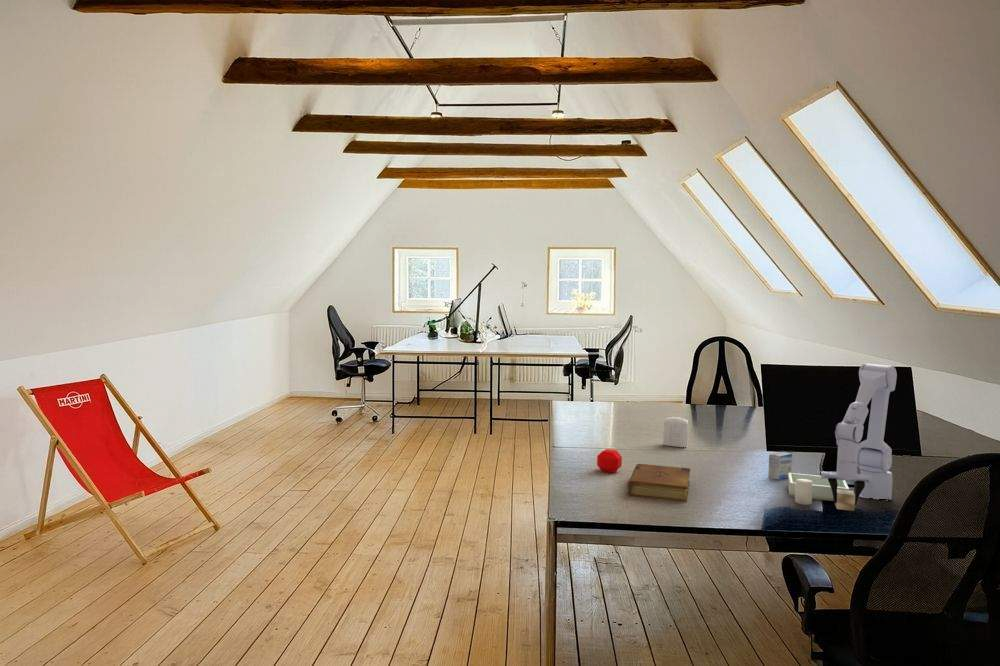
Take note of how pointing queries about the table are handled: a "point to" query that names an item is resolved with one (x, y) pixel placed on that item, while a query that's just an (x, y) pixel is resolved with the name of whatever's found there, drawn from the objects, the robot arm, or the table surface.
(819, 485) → the tote
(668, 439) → the white rounded block
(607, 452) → the ball
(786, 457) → the medicine box
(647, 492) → the diary
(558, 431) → the table surface
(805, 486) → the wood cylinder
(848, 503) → the oak cube
